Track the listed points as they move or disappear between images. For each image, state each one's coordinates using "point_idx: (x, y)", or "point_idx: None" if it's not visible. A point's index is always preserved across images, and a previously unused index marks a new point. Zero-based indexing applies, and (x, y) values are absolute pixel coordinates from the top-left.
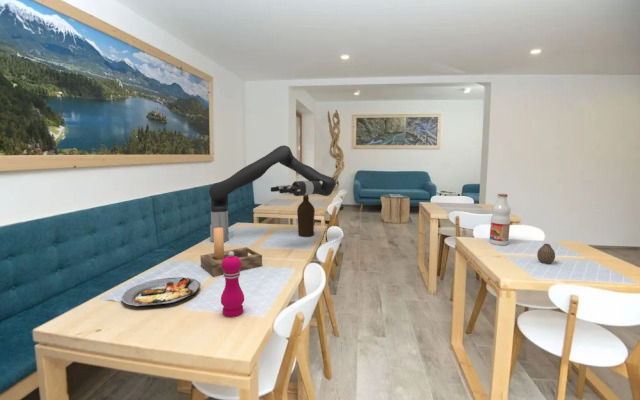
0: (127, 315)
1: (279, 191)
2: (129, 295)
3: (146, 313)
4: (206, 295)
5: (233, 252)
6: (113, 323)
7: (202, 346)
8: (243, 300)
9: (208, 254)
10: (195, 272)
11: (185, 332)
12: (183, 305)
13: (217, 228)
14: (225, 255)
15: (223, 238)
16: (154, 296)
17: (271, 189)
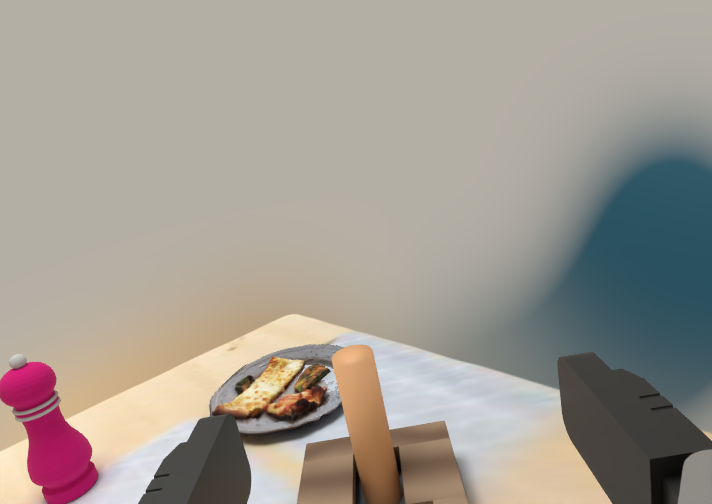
0: (247, 364)
1: (241, 450)
2: (316, 352)
3: None
4: None
5: (10, 361)
6: (236, 356)
7: None
8: (30, 478)
9: (443, 441)
10: None
11: (108, 420)
12: None
13: (353, 353)
14: (404, 493)
15: (351, 408)
16: (281, 379)
17: (562, 389)
